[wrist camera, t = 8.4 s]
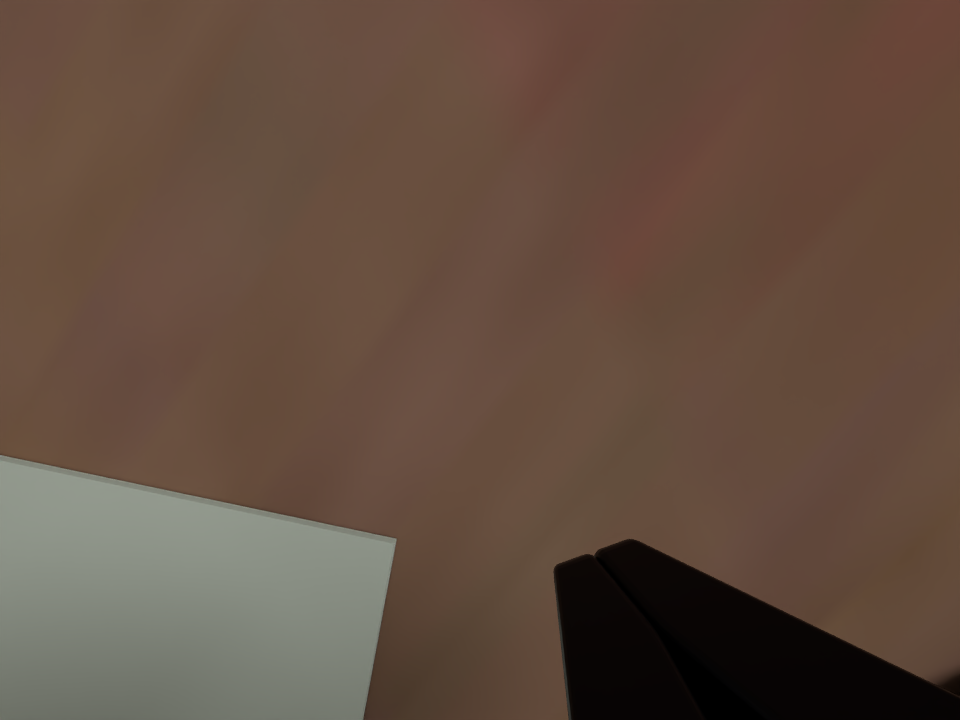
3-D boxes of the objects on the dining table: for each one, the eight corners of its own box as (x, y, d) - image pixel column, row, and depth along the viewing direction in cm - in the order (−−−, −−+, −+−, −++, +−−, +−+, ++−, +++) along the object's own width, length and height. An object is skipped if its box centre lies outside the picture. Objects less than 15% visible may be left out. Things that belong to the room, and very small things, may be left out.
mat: (396, 539, 21) (394, 543, 21) (327, 914, 24) (324, 923, 23) (-41, 446, 22) (-49, 449, 21) (-67, 825, 24) (-75, 833, 24)
